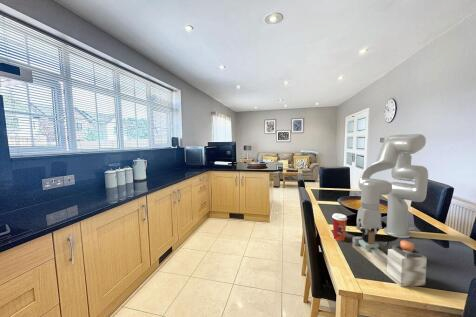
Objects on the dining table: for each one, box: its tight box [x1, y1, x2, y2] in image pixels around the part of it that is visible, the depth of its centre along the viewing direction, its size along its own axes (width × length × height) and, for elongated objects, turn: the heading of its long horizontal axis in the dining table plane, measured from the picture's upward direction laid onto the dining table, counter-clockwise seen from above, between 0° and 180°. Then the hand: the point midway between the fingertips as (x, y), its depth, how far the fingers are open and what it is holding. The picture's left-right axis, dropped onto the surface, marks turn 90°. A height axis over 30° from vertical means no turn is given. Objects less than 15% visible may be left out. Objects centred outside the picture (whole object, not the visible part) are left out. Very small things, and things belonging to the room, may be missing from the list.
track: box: [351, 236, 428, 288], centre depth 86 cm, size 10×28×13 cm, turn 3°
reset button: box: [399, 239, 415, 252], centre depth 75 cm, size 4×4×2 cm
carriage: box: [358, 229, 380, 251], centre depth 96 cm, size 7×5×9 cm
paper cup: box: [331, 212, 348, 242], centre depth 109 cm, size 8×8×14 cm
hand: (368, 240), depth 96 cm, fingers closed on carriage, 3 cm apart
